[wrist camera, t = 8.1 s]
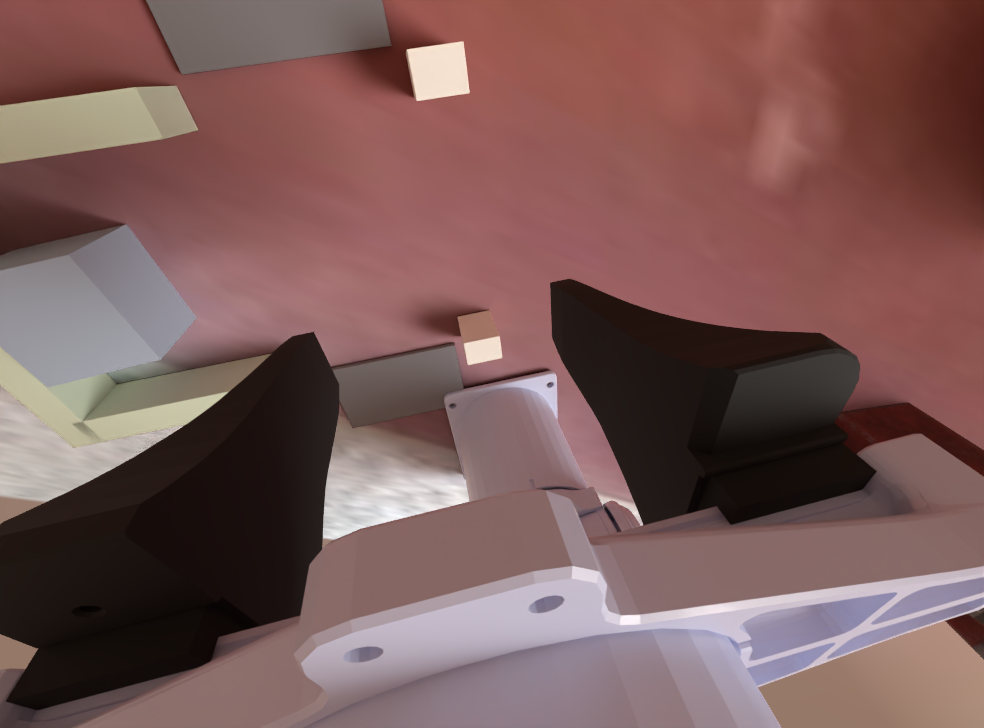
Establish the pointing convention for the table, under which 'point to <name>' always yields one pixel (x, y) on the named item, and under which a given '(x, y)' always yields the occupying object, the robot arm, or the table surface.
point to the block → (87, 306)
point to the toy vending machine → (906, 419)
